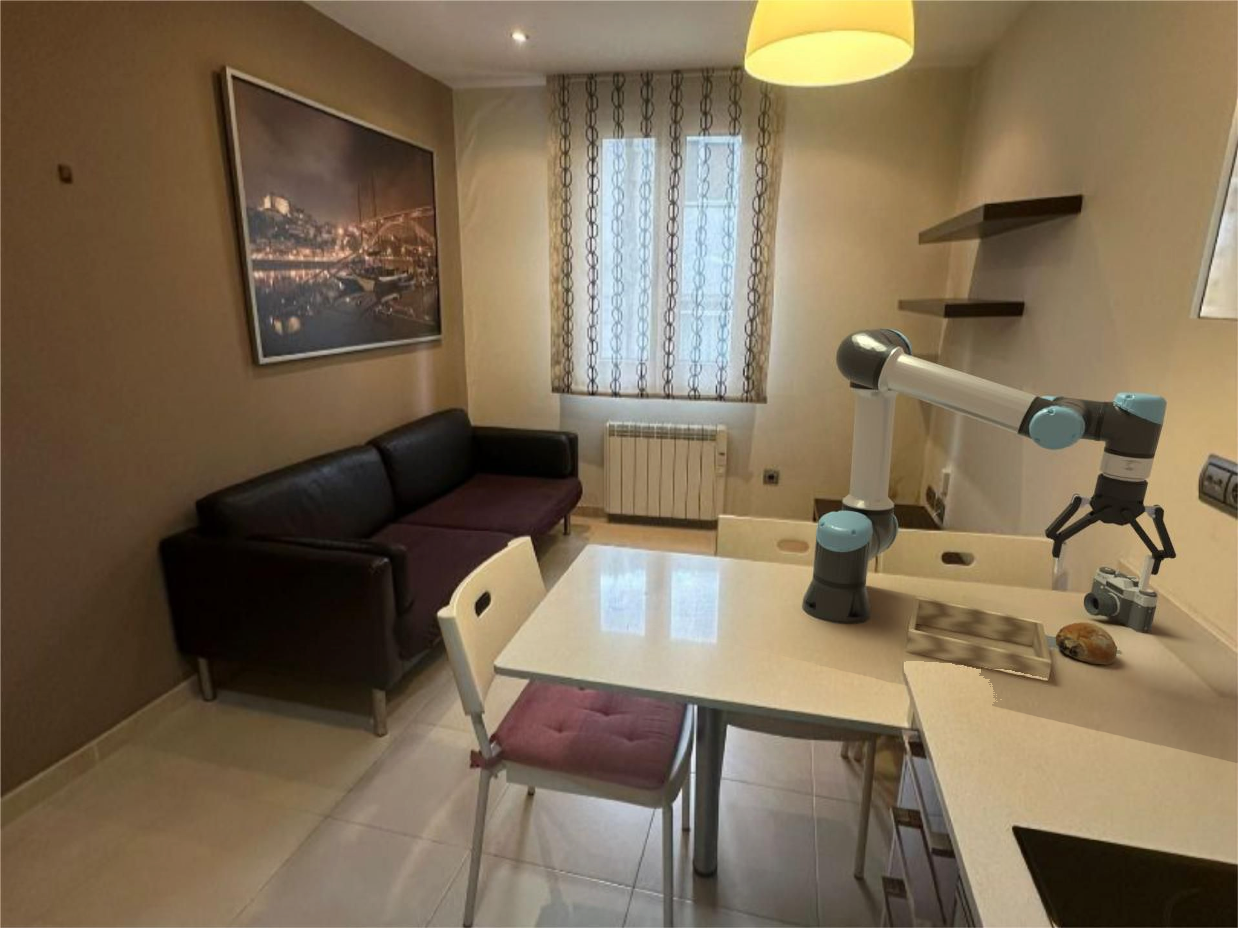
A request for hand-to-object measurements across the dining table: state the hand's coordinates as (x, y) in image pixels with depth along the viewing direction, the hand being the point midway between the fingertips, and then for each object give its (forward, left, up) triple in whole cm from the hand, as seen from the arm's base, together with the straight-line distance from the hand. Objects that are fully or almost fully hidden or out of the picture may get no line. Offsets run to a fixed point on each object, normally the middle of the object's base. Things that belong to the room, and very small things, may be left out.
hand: (1098, 580), depth 125 cm
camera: (+8, +26, -18) cm, 32 cm away
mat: (0, 0, -17) cm, 17 cm away
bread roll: (-1, 0, -17) cm, 17 cm away
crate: (-20, -8, -17) cm, 27 cm away
